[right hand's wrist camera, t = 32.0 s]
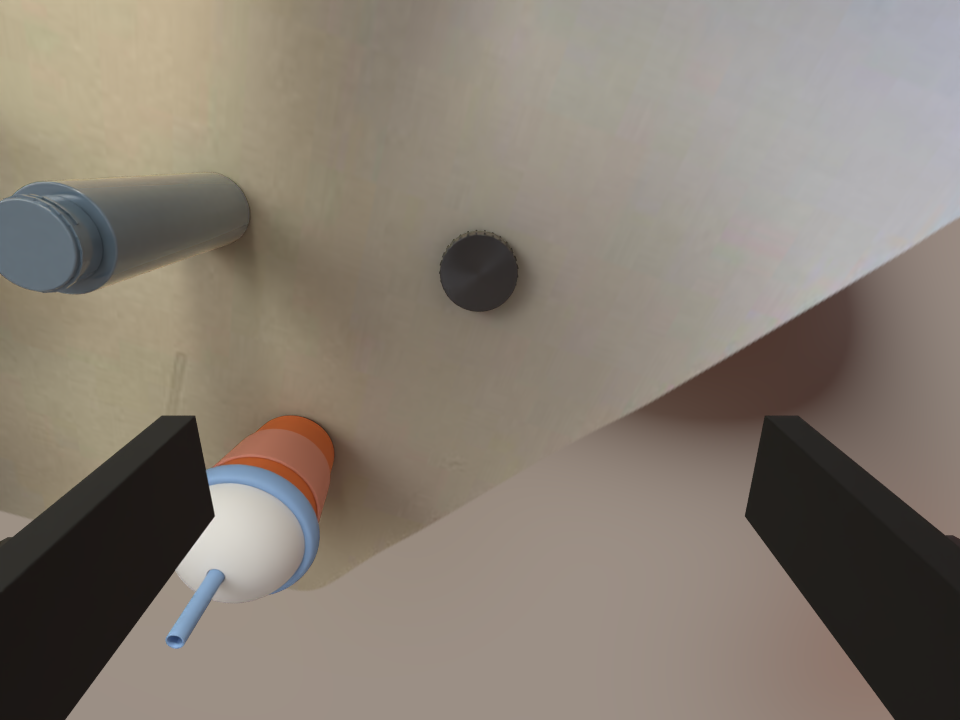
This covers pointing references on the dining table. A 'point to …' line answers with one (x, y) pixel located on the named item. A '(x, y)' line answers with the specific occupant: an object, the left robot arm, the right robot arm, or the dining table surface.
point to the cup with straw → (258, 519)
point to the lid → (478, 271)
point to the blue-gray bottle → (114, 227)
